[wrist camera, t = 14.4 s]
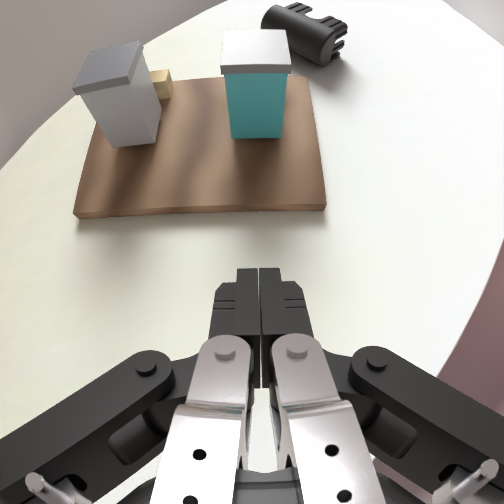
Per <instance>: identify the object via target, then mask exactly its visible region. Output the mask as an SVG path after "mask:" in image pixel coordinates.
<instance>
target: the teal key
mask: <svg viewBox="0 0 504 504" xmlns="http://www.w3.org/2000/svg"><path fill="white" fill-rule="evenodd" d="M220 68H221V75H223V74H224V78H225V87H226V96H227V105H228V114H229V122H230V131H231V139H239V138H281V135H282V125H283V115H284V105H285V95H286V85H287V74H290V73H291V59H290V53H289V47H288V42H287V36H286V30H270V29H257V30H226V31H223V41H222V51H221V62H220Z"/></svg>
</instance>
